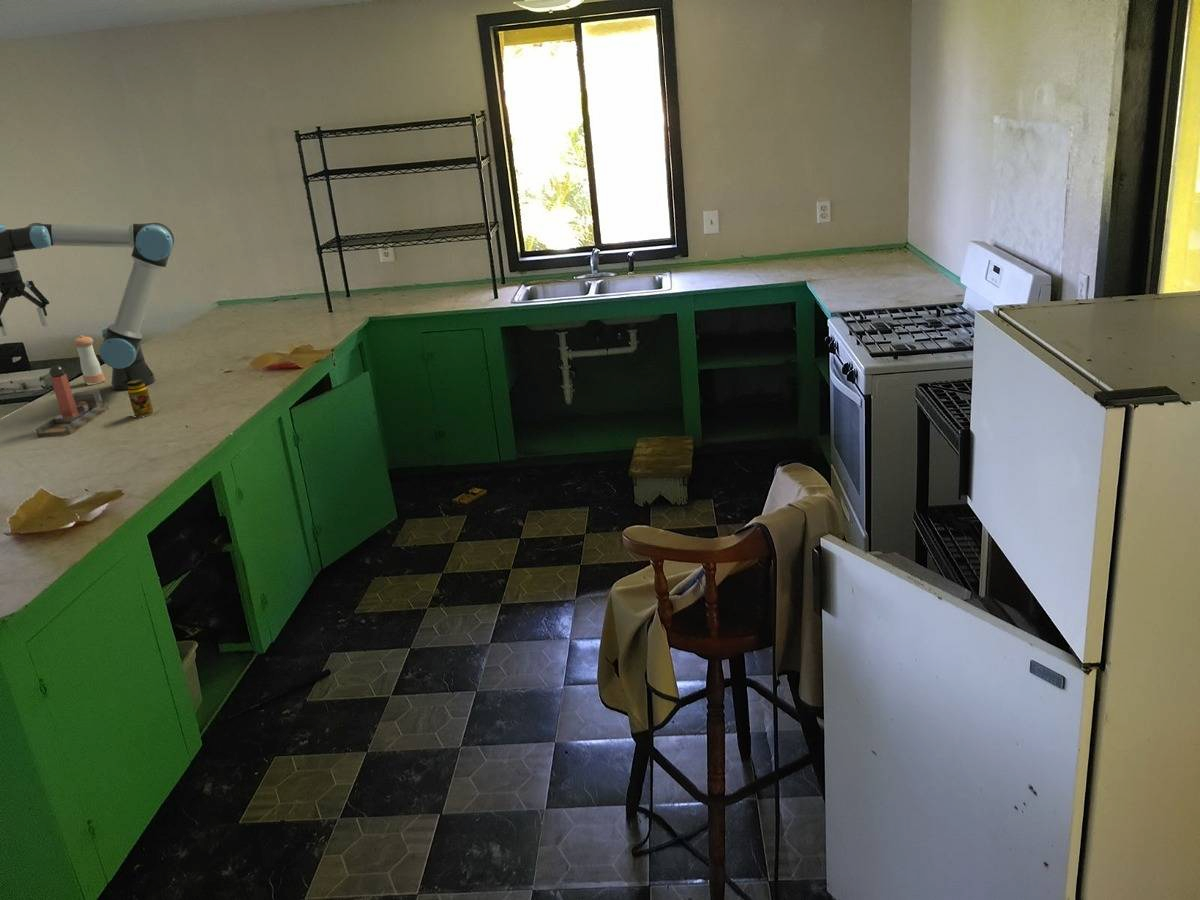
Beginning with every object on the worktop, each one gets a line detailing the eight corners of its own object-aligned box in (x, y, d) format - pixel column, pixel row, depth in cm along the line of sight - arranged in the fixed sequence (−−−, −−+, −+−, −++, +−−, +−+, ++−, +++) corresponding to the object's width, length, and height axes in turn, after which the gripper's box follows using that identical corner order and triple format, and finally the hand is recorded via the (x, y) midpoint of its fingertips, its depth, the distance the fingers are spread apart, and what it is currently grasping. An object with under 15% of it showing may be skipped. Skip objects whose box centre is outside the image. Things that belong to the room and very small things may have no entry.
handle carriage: (70, 414, 325) (53, 361, 318) (91, 412, 325) (75, 359, 318) (56, 423, 316) (38, 369, 310) (78, 421, 316) (61, 367, 309)
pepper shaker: (99, 384, 367) (85, 337, 360) (81, 386, 367) (67, 338, 361) (108, 379, 374) (95, 332, 367) (91, 380, 374) (77, 333, 367)
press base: (78, 411, 333) (72, 392, 330) (108, 409, 333) (103, 389, 330) (37, 437, 309) (31, 416, 306) (70, 434, 308) (64, 413, 306)
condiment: (141, 418, 318) (132, 384, 313) (126, 416, 322) (116, 383, 318) (160, 411, 324) (151, 378, 319) (144, 409, 328) (135, 376, 323)
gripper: (37, 263, 336) (55, 321, 343) (-37, 277, 317) (-17, 338, 325) (48, 263, 332) (66, 322, 339) (-27, 278, 313) (-6, 340, 320)
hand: (25, 330), depth 332 cm, fingers open, 13 cm apart
